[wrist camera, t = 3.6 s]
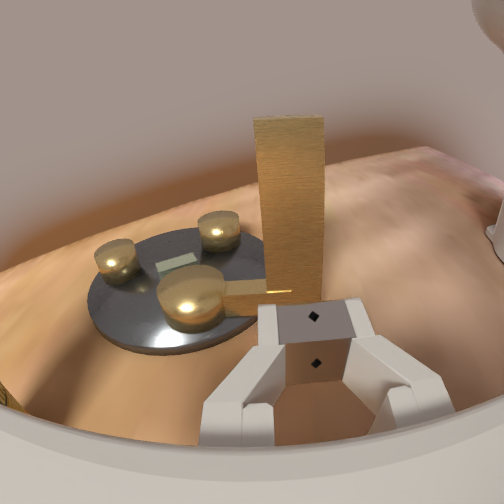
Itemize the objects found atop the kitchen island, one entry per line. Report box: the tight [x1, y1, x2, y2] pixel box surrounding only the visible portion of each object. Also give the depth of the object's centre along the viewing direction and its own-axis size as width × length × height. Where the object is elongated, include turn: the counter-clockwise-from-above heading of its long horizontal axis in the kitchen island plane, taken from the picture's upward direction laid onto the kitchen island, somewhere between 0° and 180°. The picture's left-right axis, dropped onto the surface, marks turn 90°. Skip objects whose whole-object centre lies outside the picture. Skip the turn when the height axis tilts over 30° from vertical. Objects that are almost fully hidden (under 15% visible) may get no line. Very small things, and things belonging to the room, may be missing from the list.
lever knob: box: [156, 115, 325, 334], centre depth 23 cm, size 14×6×16 cm, turn 90°
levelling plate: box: [87, 211, 266, 356], centre depth 33 cm, size 22×22×4 cm
